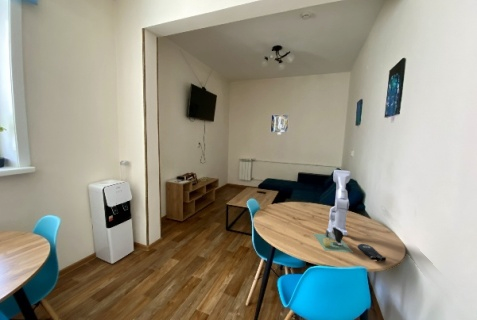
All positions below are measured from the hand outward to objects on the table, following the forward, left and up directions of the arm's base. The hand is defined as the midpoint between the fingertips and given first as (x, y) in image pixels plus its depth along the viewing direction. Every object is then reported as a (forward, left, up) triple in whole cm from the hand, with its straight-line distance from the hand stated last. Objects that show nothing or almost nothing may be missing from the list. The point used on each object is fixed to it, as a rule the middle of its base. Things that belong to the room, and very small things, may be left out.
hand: (338, 241), depth 118 cm
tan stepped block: (+1, -6, -3) cm, 6 cm away
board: (-4, -2, -4) cm, 6 cm away
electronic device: (+4, +16, -5) cm, 17 cm away
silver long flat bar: (-4, 0, -1) cm, 4 cm away
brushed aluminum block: (-4, 0, -3) cm, 4 cm away
